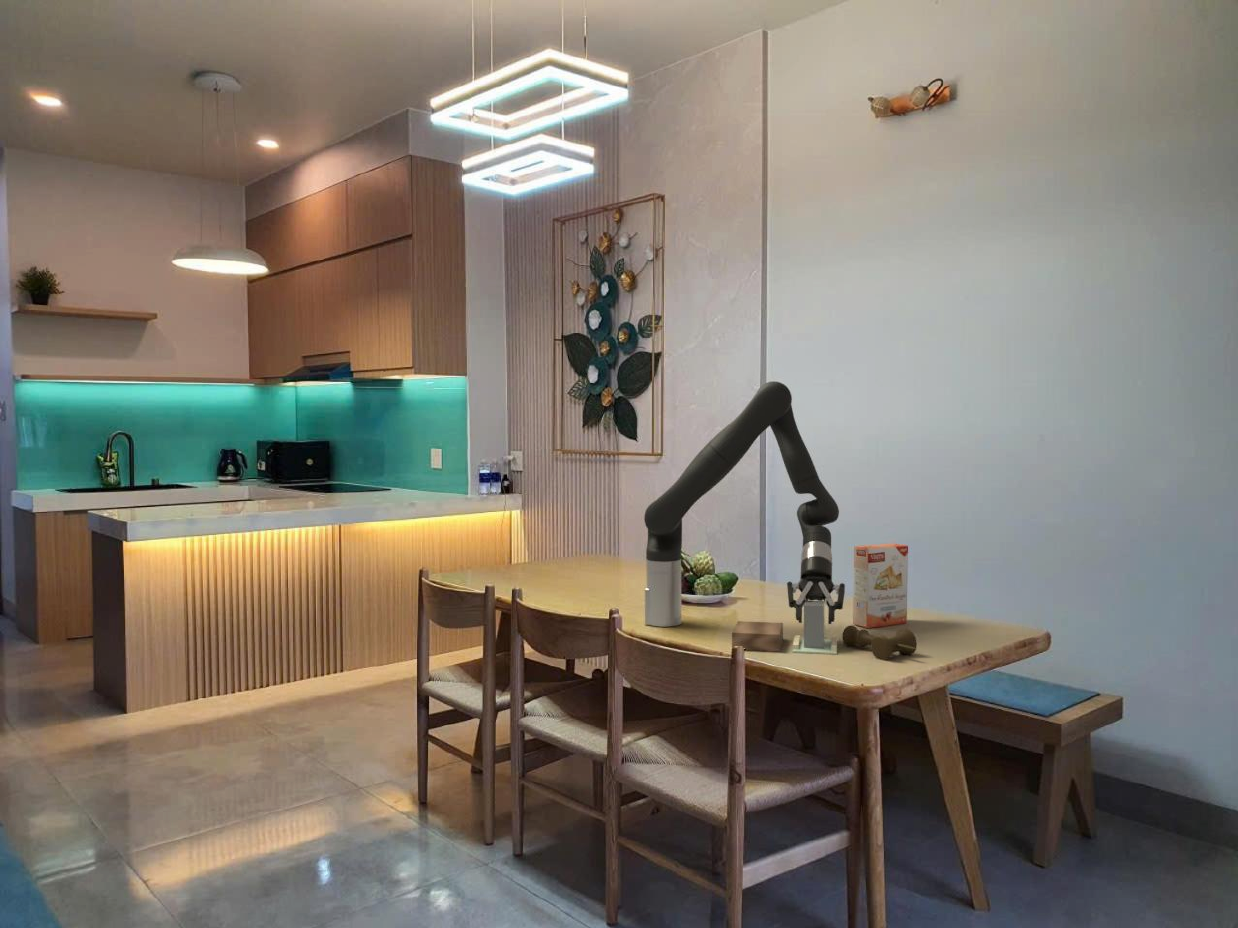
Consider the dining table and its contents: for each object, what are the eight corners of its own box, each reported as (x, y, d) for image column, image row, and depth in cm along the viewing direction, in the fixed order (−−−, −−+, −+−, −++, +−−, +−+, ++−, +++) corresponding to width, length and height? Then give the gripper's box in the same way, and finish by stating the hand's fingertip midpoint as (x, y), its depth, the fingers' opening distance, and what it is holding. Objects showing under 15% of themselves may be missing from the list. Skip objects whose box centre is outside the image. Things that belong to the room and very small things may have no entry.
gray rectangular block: (803, 647, 219) (803, 605, 219) (805, 641, 225) (805, 600, 224) (823, 648, 218) (823, 605, 217) (824, 642, 224) (824, 601, 223)
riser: (732, 649, 219) (731, 632, 219) (738, 637, 232) (738, 621, 232) (779, 651, 217) (779, 634, 217) (782, 639, 229) (782, 622, 229)
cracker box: (868, 629, 239) (868, 548, 238) (852, 624, 245) (852, 545, 244) (908, 623, 246) (909, 544, 245) (892, 619, 251) (892, 542, 250)
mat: (792, 652, 216) (792, 646, 216) (795, 639, 229) (795, 633, 229) (836, 654, 214) (836, 648, 214) (837, 641, 226) (837, 635, 226)
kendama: (862, 644, 226) (930, 658, 209) (834, 651, 220) (902, 666, 204) (861, 619, 226) (929, 632, 209) (833, 626, 220) (901, 639, 204)
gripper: (786, 554, 229) (783, 611, 218) (846, 555, 226) (846, 613, 215) (787, 572, 235) (784, 629, 224) (846, 573, 231) (846, 631, 220)
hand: (815, 621), depth 219 cm, fingers open, 6 cm apart
